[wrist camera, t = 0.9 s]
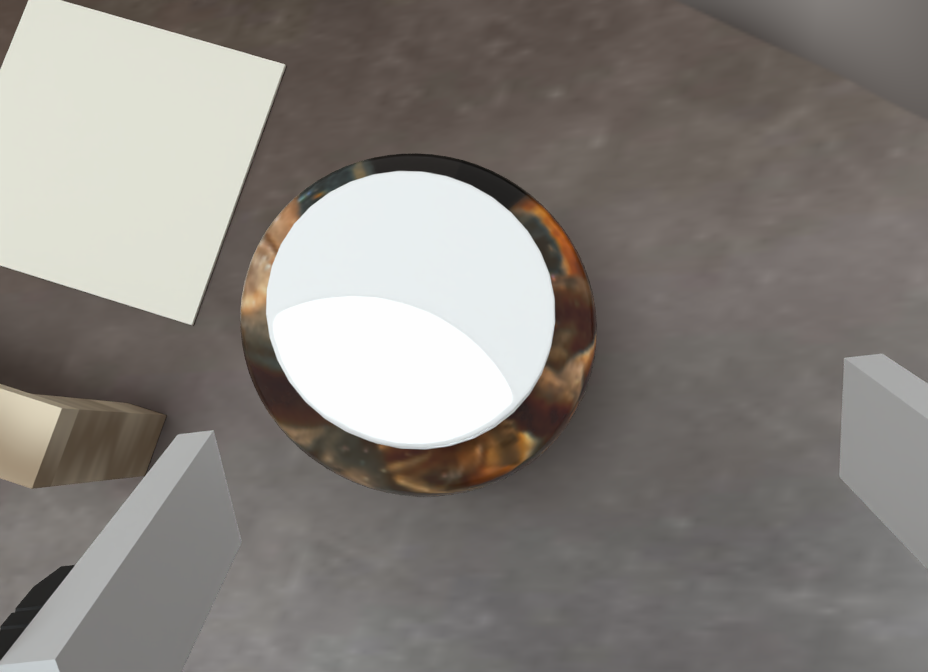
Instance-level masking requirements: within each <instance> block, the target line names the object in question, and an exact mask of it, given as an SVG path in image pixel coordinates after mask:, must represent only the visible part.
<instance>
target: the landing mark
mask: <svg viewBox="0 0 928 672" xmlns="http://www.w3.org/2000/svg"><path fill="white" fill-rule="evenodd" d="M285 68H286V65H285V64H281V63H278V62H274V61H271V60H267V59H264V58H260V57H257V56H253V55H250V54H247V53H243V52H240V51H236V50H233V49H229V48H226V47H222V46H219V45H215V44H212V43H208V42H205V41H201V40H198V39H194V38H191V37H187V36H184V35H180V34H177V33H173V32H170V31H166V30H163V29H159V28H156V27H152V26H149V25H145V24H142V23H138V22H135V21H131V20H128V19H124V18H121V17H117V16H114V15H110V14H107V13H103V12H100V11H96V10H93V9H89V8H86V7H82V6H79V5H75V4H72V3H68V2H65V1H61V0H29V1H28V3H27V6H26V8H25V10H24V13H23V15H22V18H21V20H20V23H19V25H18V28H17V30H16V33H15V35H14V37H13V40H12V42H11V45H10V47H9V50H8V52H7V55H6V57H5V60H4V62H3V65H2V67H1V69H0V266H3V267H7V268H10V269H13V270H16V271H20V272H23V273H26V274H29V275H32V276H36V277H39V278H42V279H45V280H48V281H52V282H55V283H58V284H61V285H65V286H68V287H71V288H74V289H77V290H81V291H84V292H87V293H90V294H93V295H97V296H100V297H103V298H106V299H109V300H113V301H116V302H119V303H122V304H126V305H129V306H132V307H135V308H138V309H142V310H145V311H148V312H151V313H154V314H158V315H161V316H164V317H167V318H171V319H174V320H177V321H180V322H183V323H187V324H190V325H194V322H195V319H196V317H197V314H198V311H199V308H200V305H201V303H202V300H203V297H204V294H205V291H206V289H207V286H208V283H209V280H210V277H211V275H212V272H213V269H214V266H215V263H216V261H217V258H218V255H219V252H220V250H221V247H222V244H223V241H224V238H225V236H226V233H227V230H228V227H229V224H230V222H231V219H232V216H233V213H234V210H235V208H236V205H237V202H238V199H239V196H240V194H241V191H242V188H243V185H244V182H245V180H246V177H247V174H248V171H249V169H250V166H251V163H252V160H253V157H254V155H255V152H256V149H257V146H258V143H259V141H260V138H261V135H262V132H263V129H264V127H265V124H266V121H267V118H268V115H269V113H270V110H271V107H272V104H273V102H274V99H275V96H276V93H277V90H278V88H279V85H280V82H281V79H282V76H283V74H284V71H285Z"/></svg>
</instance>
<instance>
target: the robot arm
mask: <svg viewBox="0 0 928 672" xmlns="http://www.w3.org/2000/svg"><path fill="white" fill-rule="evenodd" d="M839 477H840V478H841V479H842V480H843V481H844V482H845V483H846V484H847V485H848V486H849V488H850V489H851V490H852V491H853V492H854V493H855V494H856V495H857V496H858V497H859V498H860V499H861V500H862V501H863V502H864V503H865V504H866V505H867V506H868V508H869V509H870V510H871V511H872V512H873V513H874V514H875V515H876V516H877V517H878V518H879V519H880V520H881V521H882V522H883V523H884V524H885V525H886V526H887V528H888V529H889V530H890V531H891V532H892V533H893V534H894V535H895V536H896V537H897V538H898V539H899V540H900V541H901V542H902V543H903V544H904V545H905V546H906V548H907V549H908V550H909V551H910V552H911V553H912V554H913V555H914V556H915V557H916V558H917V559H918V560H919V561H920V562H921V563H922V564H923V565H924V566H925V568H926V569H927V570H928V383H926V382H925V381H923V380H922V379H920V378H919V377H917V376H915V375H914V374H912V373H911V372H909V371H908V370H906V369H905V368H903V367H902V366H900V365H899V364H897V363H896V362H894V361H893V360H891V359H890V358H888V357H886V356H885V355H883V354H875V355H866V356H857V357H848V358H844V375H843V399H842V422H841V446H840V470H839ZM241 543H242V541H241V537H240V533H239V529H238V525H237V521H236V517H235V513H234V509H233V505H232V501H231V497H230V494H229V490H228V486H227V482H226V478H225V474H224V470H223V466H222V462H221V458H220V454H219V450H218V446H217V442H216V438H215V434H214V430H212V431H203V432H195V433H186V434H178V435H177V436H176V437H175V439H174V440H173V441H172V443H171V444H170V445H169V446H168V448H167V449H166V450H165V451H164V453H163V454H162V455H161V457H160V458H159V459H158V460H157V462H156V463H155V464H154V465H153V467H152V468H151V469H150V471H149V472H148V473H147V474H146V476H145V477H144V478H143V479H142V481H141V482H140V483H139V485H138V486H137V487H136V488H135V490H134V491H133V492H132V494H131V495H130V496H129V497H128V499H127V500H126V501H125V502H124V504H123V505H122V506H121V508H120V509H119V510H118V511H117V513H116V514H115V515H114V516H113V518H112V519H111V520H110V522H109V523H108V524H107V525H106V527H105V528H104V529H103V530H102V532H101V533H100V534H99V536H98V537H97V538H96V539H95V541H94V542H93V543H92V545H91V546H90V547H89V548H88V550H87V551H86V552H85V553H84V555H83V556H82V557H81V559H80V560H79V561H78V562H77V564H76V565H71V566H62V567H60V568H58V569H57V570H56V571H54V572H53V573H52V574H50V575H49V576H48V577H46V578H45V579H44V580H42V581H41V582H39V583H38V584H37V585H35V586H34V587H33V588H32V589H31V591H30V592H29V593H28V594H27V595H26V597H25V598H24V599H23V600H22V601H21V603H20V604H19V605H18V606H17V607H16V612H15V613H11V615H10V616H9V617H8V618H7V619H6V621H5V622H4V623H3V624H2V625H1V630H0V672H182V670H183V667H184V665H185V663H186V661H187V659H188V657H189V654H190V652H191V650H192V648H193V646H194V644H195V642H196V639H197V637H198V635H199V633H200V631H201V629H202V627H203V624H204V622H205V620H206V618H207V616H208V614H209V612H210V609H211V607H212V605H213V603H214V601H215V599H216V597H217V594H218V592H219V590H220V588H221V586H222V584H223V581H224V579H225V577H226V575H227V573H228V571H229V569H230V566H231V564H232V562H233V560H234V558H235V556H236V554H237V551H238V549H239V547H240V545H241Z"/></svg>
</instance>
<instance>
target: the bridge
mask: <svg viewBox="0 0 928 672" xmlns="http://www.w3.org/2000/svg"><path fill="white" fill-rule="evenodd" d="M165 418H166V415H164V414H161V413H157V412H154V411H151V410H148V409H145V408H142V407H139V406H136V405H132V404H129V403H122V402H111V401H101V400H91V399H80V398H70V397H59V396H49V395H38V394H30V393H27V392H24V391H21V390H17V389H14V388H11V387H8V386H5V385H2V384H0V478H1V479H4V480H7V481H10V482H13V483H16V484H19V485H22V486H25V487H28V488H31V489H33V488H42V487H50V486H59V485H68V484H77V483H85V482H94V481H103V480H112V479H120V478H129V477H138V476H145V474H146V471H147V468H148V466H149V463H150V460H151V457H152V454H153V452H154V449H155V446H156V443H157V440H158V438H159V435H160V432H161V429H162V426H163V424H164V421H165Z"/></svg>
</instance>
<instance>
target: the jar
mask: <svg viewBox="0 0 928 672" xmlns="http://www.w3.org/2000/svg"><path fill="white" fill-rule="evenodd" d="M240 322H241V338H242V346H243V351H244V356H245V360H246V364H247V367H248V371H249V374H250V376H251V379H252V381H253V384H254V387H255V389H256V391H257V393H258V395H259V397H260V399H261V401H262V402H263V404H264V406H265V407H266V409H267V411H268V412H269V414H270V415H271V417H272V418H273V419H274V421H275V422H276V423H277V425H278V426H279V427H280V428H281V430H282V431H283V432H284V433H285V434H286V435H287V436H288V438H289V439H291V440H292V441H293V442H294V443H295V444H296V445H297V446H298V447H299V448H300V449H301V450H302V451H304V452H305V453H306V454H307V455H308V456H310V457H311V458H312V459H314V460H315V461H317V462H318V463H320V464H321V465H323V466H324V467H326V468H327V469H329V470H331V471H332V472H334V473H336V474H338V475H339V476H341V477H343V478H346V479H348V480H350V481H352V482H354V483H357V484H360V485H362V486H365V487H368V488H371V489H375V490H378V491H382V492H386V493H392V494H398V495H405V496H417V497H435V496H445V495H453V494H459V493H464V492H468V491H472V490H476V489H479V488H482V487H485V486H488V485H490V484H493V483H496V482H498V481H500V480H502V479H504V478H506V477H508V476H510V475H512V474H514V473H515V472H517V471H519V470H520V469H522V468H523V467H525V466H526V465H528V464H529V463H530V462H532V461H533V460H535V459H536V458H537V457H538V456H539V455H540V454H542V453H543V452H544V451H545V450H546V449H547V448H548V447H549V446H550V445H551V444H552V443H553V442H554V441H555V440H556V439H557V438H558V436H559V435H560V434H561V432H562V431H563V430H564V429H565V427H566V426H567V425H568V423H569V422H570V420H571V418H572V417H573V415H574V414H575V412H576V410H577V408H578V406H579V404H580V402H581V401H582V398H583V396H584V393H585V391H586V388H587V386H588V382H589V379H590V376H591V373H592V368H593V363H594V358H595V350H596V330H597V324H596V311H595V304H594V298H593V293H592V289H591V285H590V282H589V279H588V276H587V273H586V270H585V267H584V265H583V263H582V261H581V258H580V256H579V254H578V252H577V250H576V249H575V247H574V245H573V243H572V241H571V240H570V238H569V237H568V235H567V234H566V232H565V231H564V229H563V228H562V227H561V225H560V224H559V223H558V222H557V221H556V219H555V218H554V217H553V216H552V215H551V214H550V213H549V212H548V211H547V209H546V208H545V207H544V206H543V205H542V204H540V203H539V202H538V201H537V200H536V199H535V198H534V197H532V196H531V195H530V194H529V193H527V192H526V191H525V190H523V189H522V188H521V187H519V186H518V185H516V184H515V183H513V182H511V181H510V180H508V179H507V178H505V177H503V176H501V175H499V174H497V173H495V172H493V171H491V170H489V169H486V168H484V167H481V166H479V165H476V164H473V163H470V162H467V161H464V160H460V159H455V158H451V157H446V156H439V155H432V154H396V155H387V156H381V157H375V158H371V159H367V160H364V161H360V162H357V163H354V164H351V165H348V166H346V167H343V168H341V169H339V170H337V171H334V172H332V173H330V174H329V175H327V176H325V177H323V178H321V179H320V180H318V181H317V182H315V183H314V184H312V185H311V186H309V187H308V188H306V189H305V190H304V191H303V192H301V193H300V194H299V195H298V196H297V197H295V198H294V199H293V200H292V201H291V202H290V203H289V204H288V205H287V206H286V207H285V208H284V209H283V210H282V212H281V213H280V214H279V215H278V216H277V217H276V218H275V220H274V221H273V223H272V224H271V225H270V227H269V228H268V230H267V231H266V233H265V234H264V236H263V238H262V239H261V241H260V243H259V245H258V247H257V249H256V251H255V253H254V255H253V258H252V260H251V263H250V266H249V269H248V272H247V275H246V279H245V283H244V288H243V294H242V300H241V313H240Z"/></svg>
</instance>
